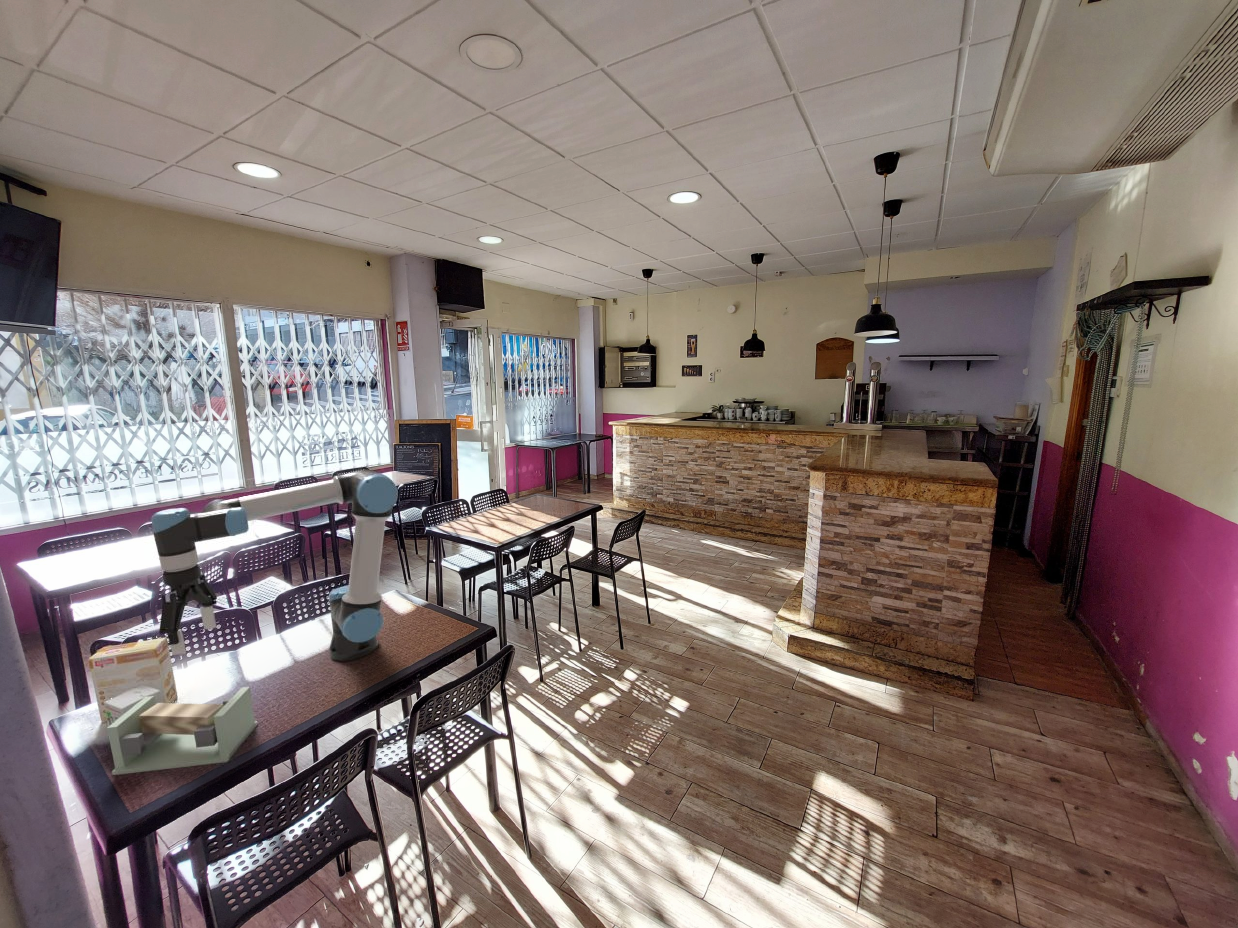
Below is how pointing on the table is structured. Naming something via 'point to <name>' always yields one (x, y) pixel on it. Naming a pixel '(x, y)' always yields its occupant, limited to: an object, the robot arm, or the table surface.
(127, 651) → the coffeecake box
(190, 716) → the rail
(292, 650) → the table surface
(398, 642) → the table surface
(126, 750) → the bracket stand
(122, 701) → the ink box
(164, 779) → the table surface
